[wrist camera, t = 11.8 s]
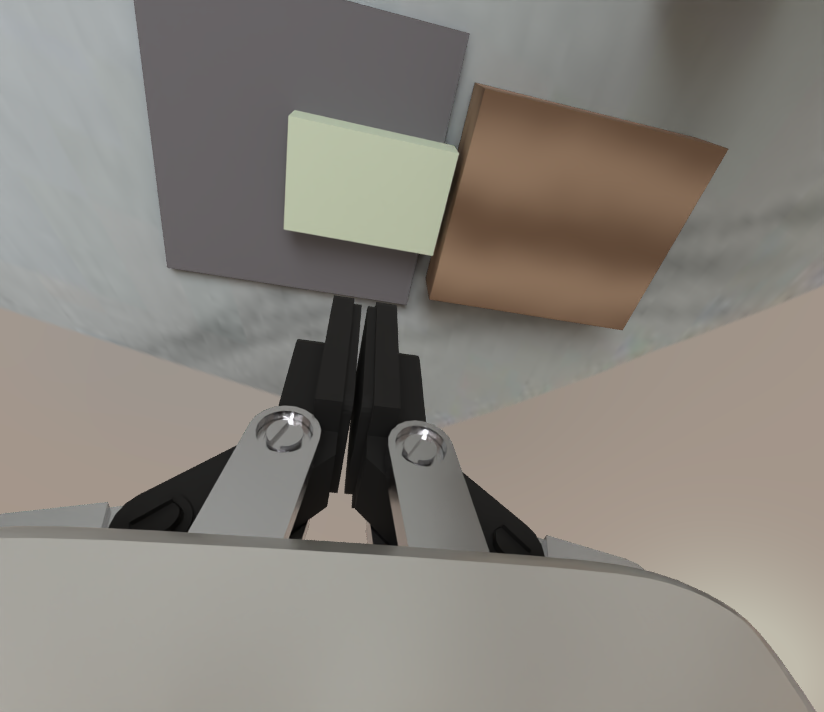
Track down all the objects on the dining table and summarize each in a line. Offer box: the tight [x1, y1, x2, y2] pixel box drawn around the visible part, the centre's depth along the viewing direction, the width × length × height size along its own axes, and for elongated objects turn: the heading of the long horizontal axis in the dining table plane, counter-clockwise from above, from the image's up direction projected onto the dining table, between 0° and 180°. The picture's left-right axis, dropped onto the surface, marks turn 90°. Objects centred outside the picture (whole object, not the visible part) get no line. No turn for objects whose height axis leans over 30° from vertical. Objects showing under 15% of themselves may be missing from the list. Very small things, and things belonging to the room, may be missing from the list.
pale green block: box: [284, 110, 459, 256], centre depth 25 cm, size 9×6×2 cm, turn 78°
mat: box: [134, 0, 469, 305], centre depth 26 cm, size 16×16×1 cm
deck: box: [426, 83, 728, 330], centre depth 27 cm, size 12×14×3 cm
